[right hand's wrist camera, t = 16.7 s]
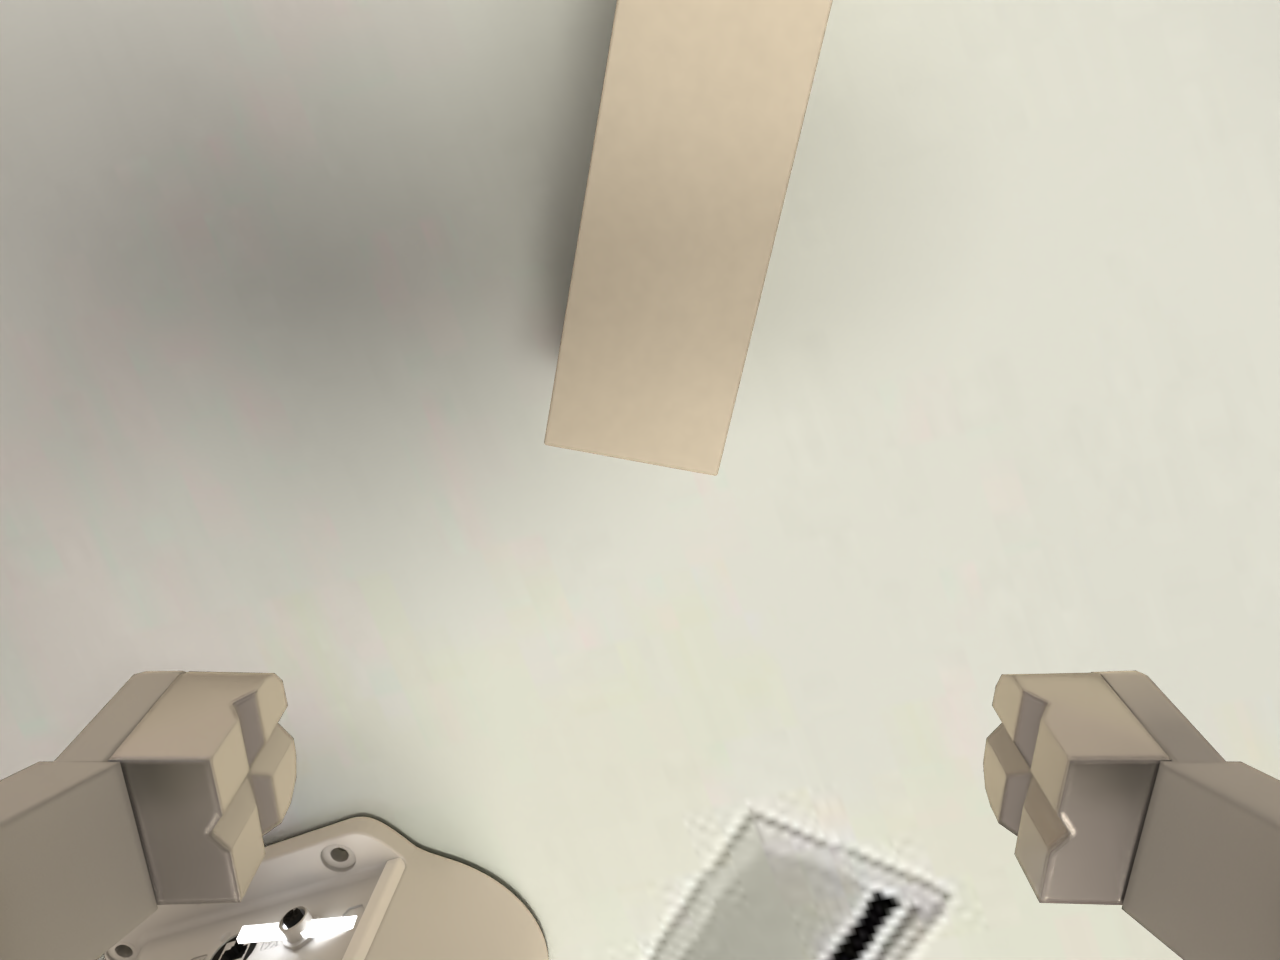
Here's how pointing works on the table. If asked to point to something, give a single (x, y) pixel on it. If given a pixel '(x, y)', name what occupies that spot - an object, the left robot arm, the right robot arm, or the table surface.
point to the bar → (680, 223)
